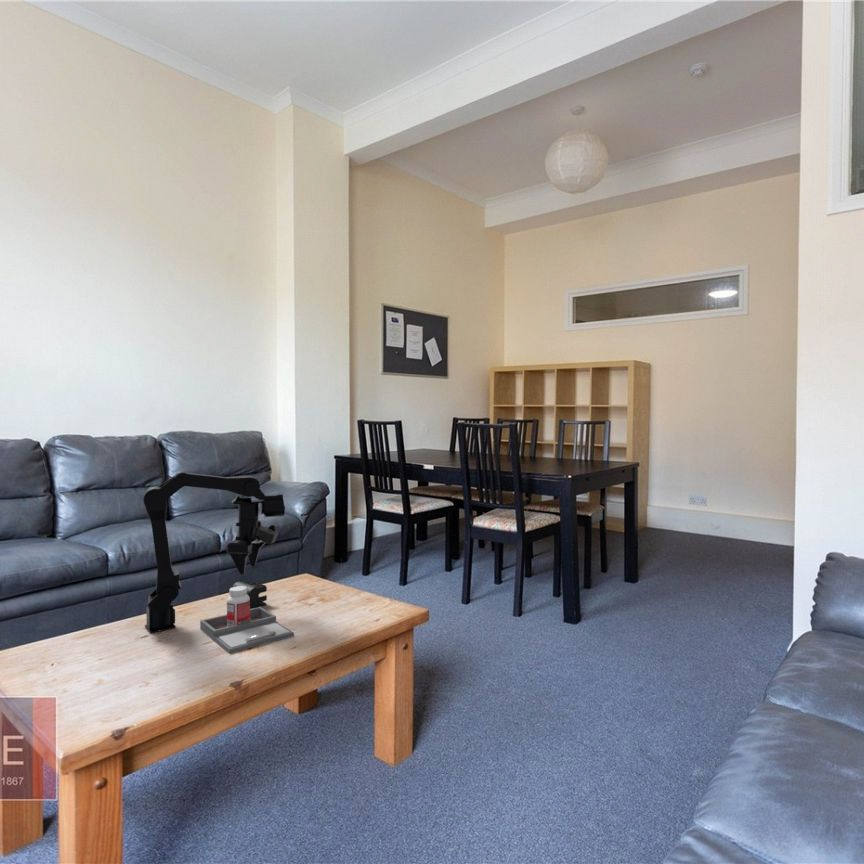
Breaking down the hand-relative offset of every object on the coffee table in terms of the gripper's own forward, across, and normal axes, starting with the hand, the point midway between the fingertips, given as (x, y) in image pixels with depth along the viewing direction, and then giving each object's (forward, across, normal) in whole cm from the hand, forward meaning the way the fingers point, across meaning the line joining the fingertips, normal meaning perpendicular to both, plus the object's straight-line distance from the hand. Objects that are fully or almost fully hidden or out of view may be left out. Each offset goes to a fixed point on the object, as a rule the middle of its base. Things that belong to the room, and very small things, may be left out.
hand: (247, 570), depth 169 cm
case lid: (+14, -18, -8) cm, 24 cm away
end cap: (+14, +10, +3) cm, 17 cm away
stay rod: (+12, -21, -11) cm, 27 cm away
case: (+14, -10, -1) cm, 17 cm away
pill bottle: (+14, -10, -1) cm, 17 cm away
